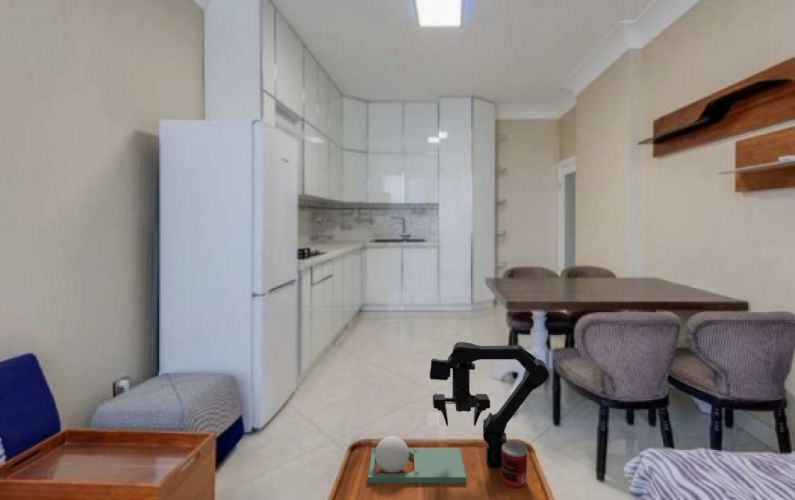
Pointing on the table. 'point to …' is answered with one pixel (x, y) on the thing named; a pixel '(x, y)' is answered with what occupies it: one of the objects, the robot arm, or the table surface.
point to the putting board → (425, 467)
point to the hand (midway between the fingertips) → (460, 425)
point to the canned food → (514, 464)
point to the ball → (392, 454)
